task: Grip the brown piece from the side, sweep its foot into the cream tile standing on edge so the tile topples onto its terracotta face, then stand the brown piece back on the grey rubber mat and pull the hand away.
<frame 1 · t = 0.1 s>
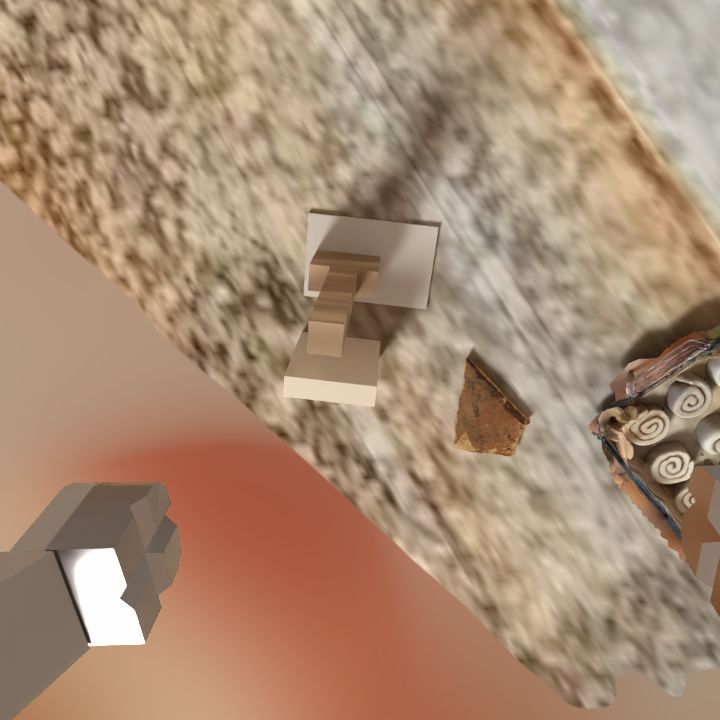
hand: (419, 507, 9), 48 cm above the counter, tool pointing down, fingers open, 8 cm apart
rest mat: (347, 264, 57), on the counter
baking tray: (715, 436, 63), on the counter
slab tile: (340, 345, 61), on the counter
brown piece: (347, 265, 57), resting on rest mat
shard: (474, 410, 64), on the counter
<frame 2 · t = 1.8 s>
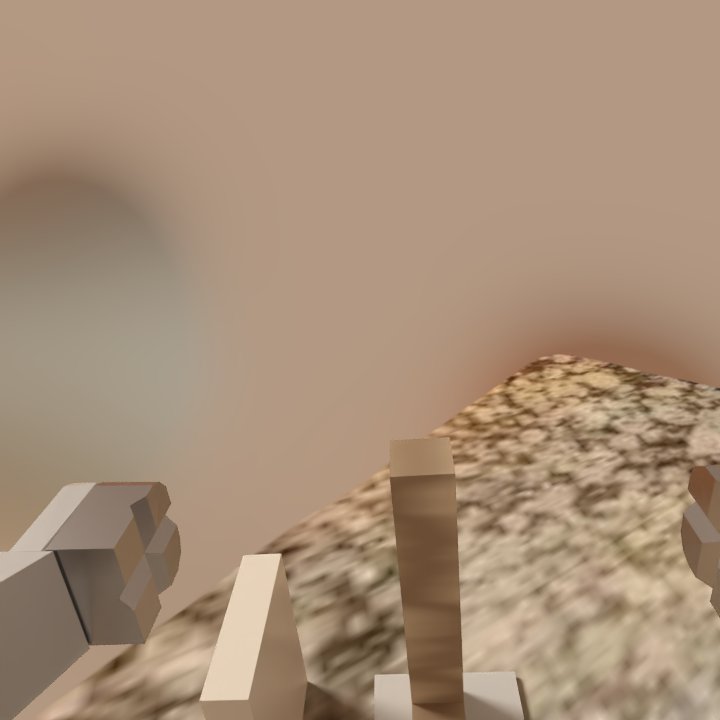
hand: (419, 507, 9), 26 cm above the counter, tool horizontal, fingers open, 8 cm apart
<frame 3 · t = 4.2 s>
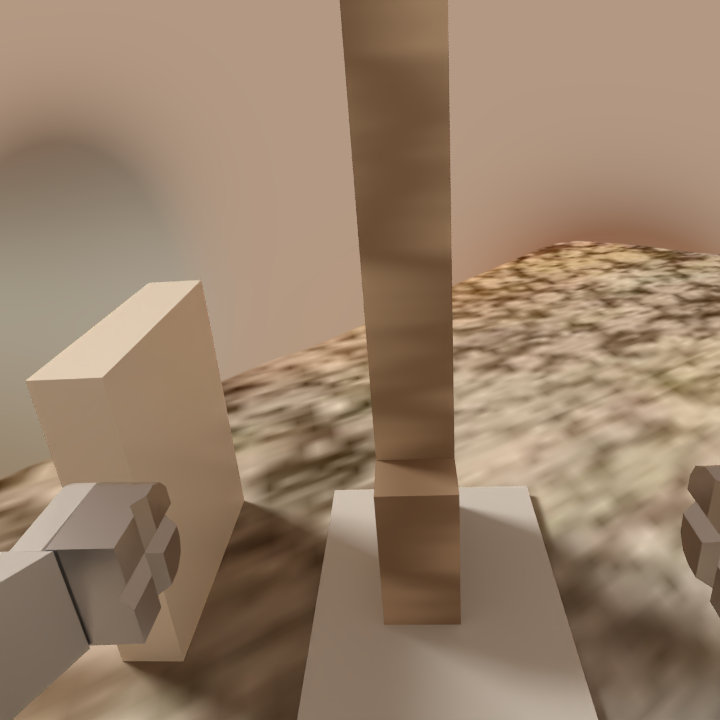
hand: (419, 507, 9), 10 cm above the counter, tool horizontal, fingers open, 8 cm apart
rest mat: (420, 564, 22), on the counter
slab tile: (193, 568, 23), on the counter
brown piece: (419, 556, 22), resting on rest mat
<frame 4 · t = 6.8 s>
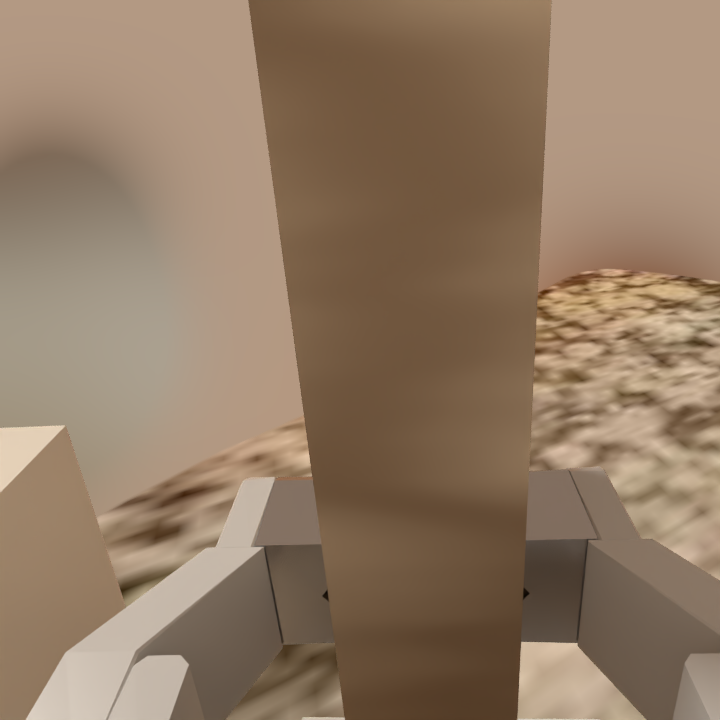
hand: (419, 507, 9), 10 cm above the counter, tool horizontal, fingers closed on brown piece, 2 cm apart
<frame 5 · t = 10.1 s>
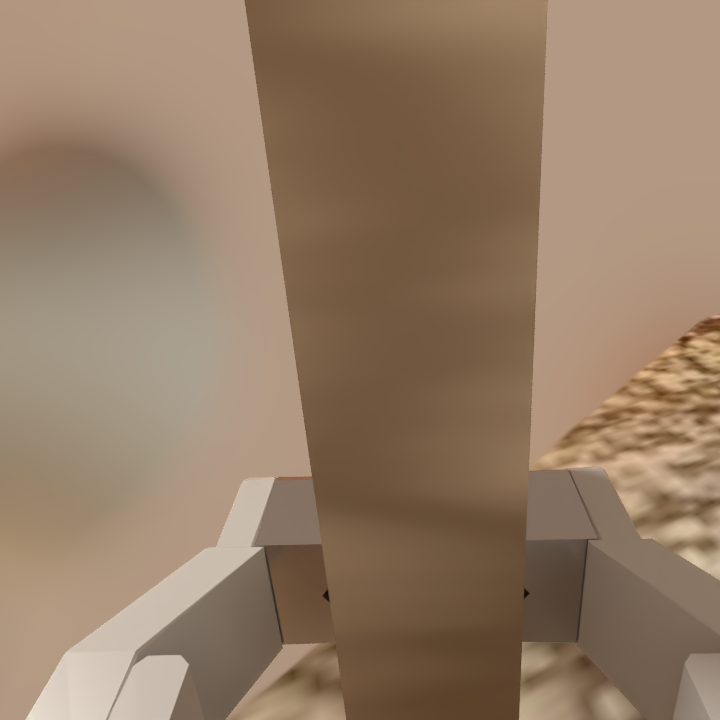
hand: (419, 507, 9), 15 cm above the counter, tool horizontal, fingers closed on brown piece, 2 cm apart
when the fingers open (12 cm above the counter, at t = 13.8 s): brown piece drops 2 cm, resting on rest mat.
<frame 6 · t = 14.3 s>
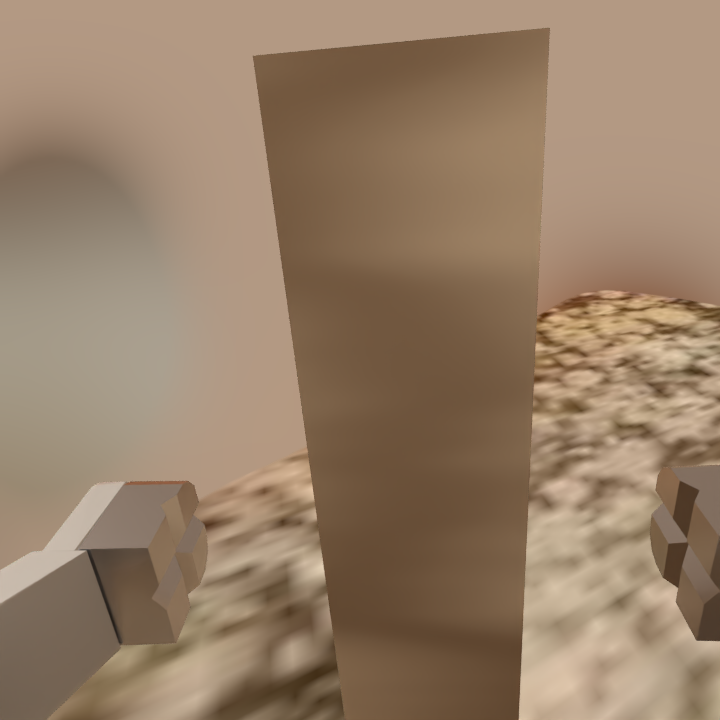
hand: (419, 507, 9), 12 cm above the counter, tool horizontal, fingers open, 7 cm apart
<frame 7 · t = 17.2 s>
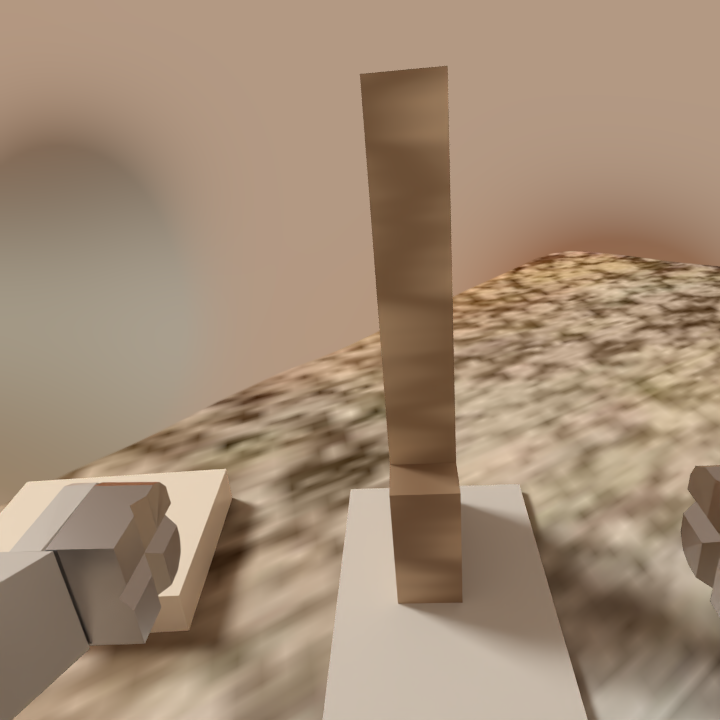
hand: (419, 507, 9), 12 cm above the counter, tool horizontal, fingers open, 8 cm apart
rest mat: (427, 553, 25), on the counter
slab tile: (210, 541, 26), point 1 cm above the counter, tilted 90°
brown piece: (426, 546, 25), resting on rest mat
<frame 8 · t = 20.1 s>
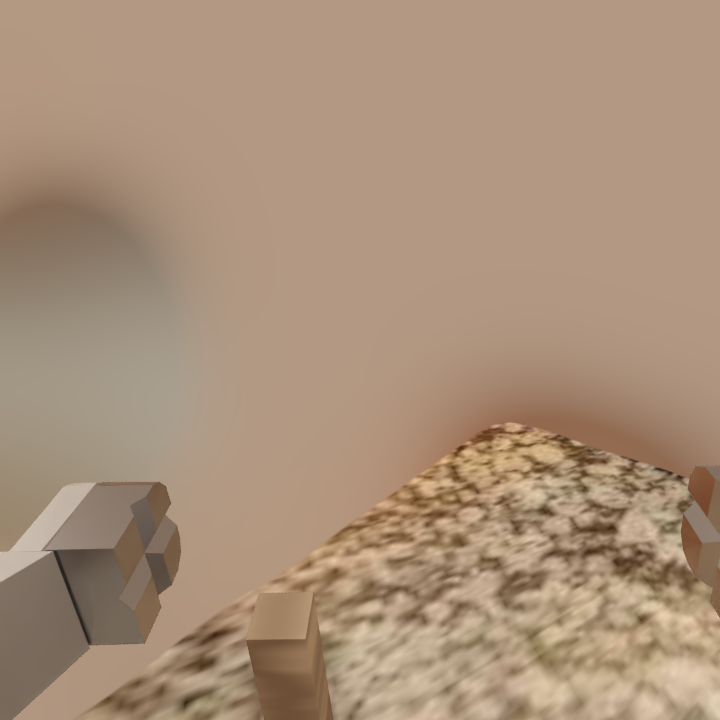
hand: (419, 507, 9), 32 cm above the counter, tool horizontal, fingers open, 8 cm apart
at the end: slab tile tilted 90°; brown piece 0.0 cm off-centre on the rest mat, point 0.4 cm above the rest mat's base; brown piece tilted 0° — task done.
